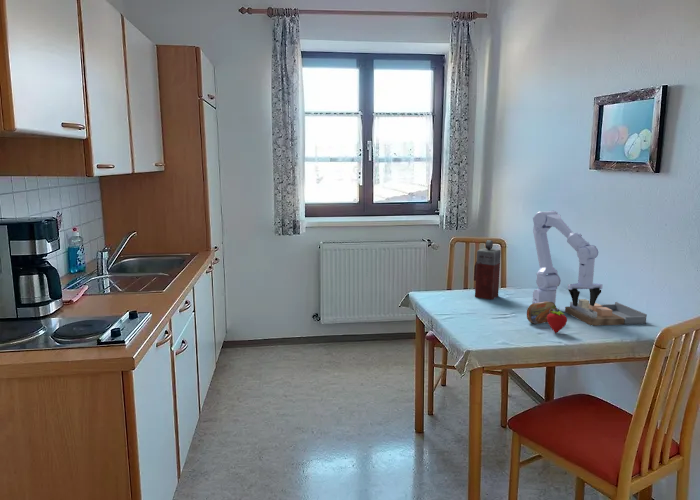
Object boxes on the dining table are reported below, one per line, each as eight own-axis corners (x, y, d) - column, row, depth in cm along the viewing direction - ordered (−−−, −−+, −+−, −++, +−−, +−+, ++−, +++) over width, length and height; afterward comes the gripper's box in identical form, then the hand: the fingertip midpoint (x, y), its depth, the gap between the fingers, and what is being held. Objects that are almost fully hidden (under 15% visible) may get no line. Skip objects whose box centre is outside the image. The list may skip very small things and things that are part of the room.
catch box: (624, 324, 218) (625, 315, 218) (595, 311, 238) (596, 302, 237) (645, 323, 219) (646, 314, 219) (615, 310, 239) (616, 301, 238)
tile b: (592, 311, 228) (592, 305, 227) (586, 308, 232) (586, 303, 232) (601, 311, 228) (602, 305, 228) (595, 308, 233) (596, 302, 232)
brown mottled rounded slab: (530, 325, 216) (531, 305, 215) (524, 323, 219) (525, 303, 217) (556, 320, 223) (558, 301, 221) (550, 318, 226) (552, 299, 224)
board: (590, 325, 216) (591, 319, 216) (564, 312, 236) (565, 306, 235) (623, 324, 218) (624, 318, 218) (595, 311, 238) (595, 305, 237)
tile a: (601, 316, 221) (602, 310, 221) (595, 313, 225) (596, 307, 225) (611, 315, 222) (612, 310, 221) (605, 312, 226) (605, 307, 226)
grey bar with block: (591, 318, 217) (592, 305, 217) (568, 307, 234) (569, 295, 233) (597, 318, 218) (599, 305, 217) (575, 307, 234) (576, 295, 234)
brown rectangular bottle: (476, 292, 270) (479, 238, 265) (498, 296, 263) (501, 240, 259) (470, 296, 262) (472, 240, 258) (492, 299, 256) (495, 242, 252)
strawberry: (548, 328, 211) (550, 304, 210) (568, 332, 207) (570, 307, 205) (543, 332, 207) (545, 307, 205) (563, 336, 202) (565, 310, 201)
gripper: (575, 276, 218) (572, 308, 220) (607, 275, 220) (605, 307, 222) (565, 273, 225) (563, 304, 227) (597, 272, 227) (595, 303, 229)
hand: (583, 305), depth 225 cm, fingers open, 7 cm apart
